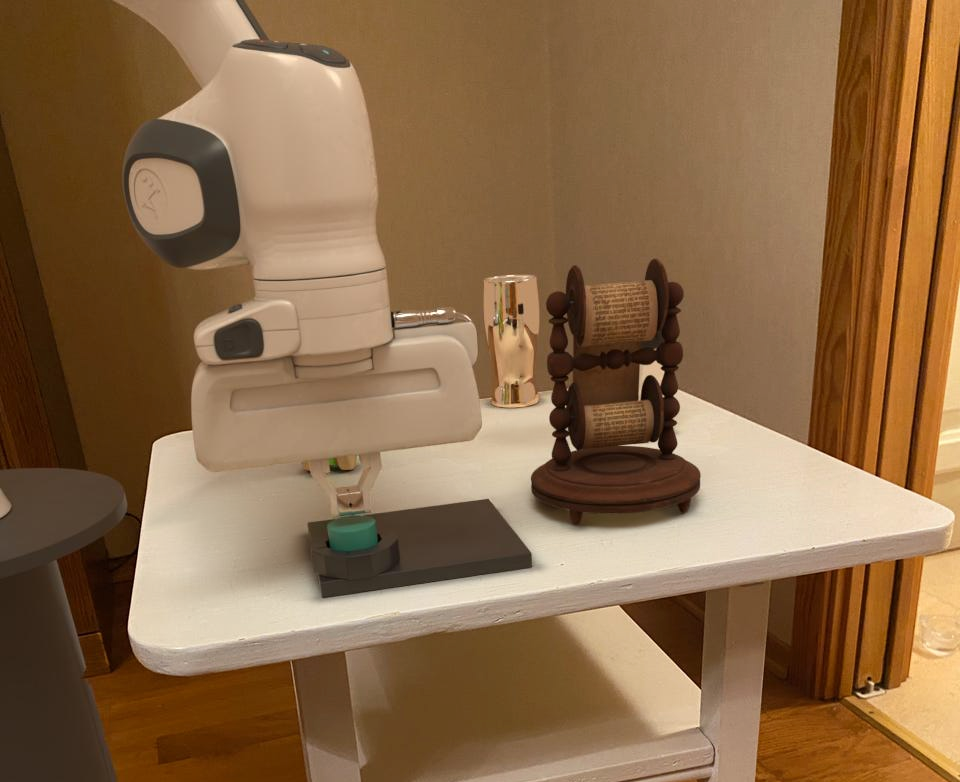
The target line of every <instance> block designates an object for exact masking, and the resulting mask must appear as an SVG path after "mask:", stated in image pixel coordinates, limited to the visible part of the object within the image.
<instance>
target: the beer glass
mask: <svg viewBox="0 0 960 782" xmlns="http://www.w3.org/2000/svg"><path fill="white" fill-rule="evenodd" d="M482 319H483V328H484V334H485V335H484V336H485V340H486V345H487V349H488V354H489V358H490V363H491V368H492V379H493V380H492V392H491V401H490V403H491V404H492V406H494V407H498V408H505V409H506V408H507V409H509V408H510V409H512V408H513V409H514V408H515V409H516V408H525V407H530V406H533V405H536V404H537V403H539V401H540V396H539V393H538V392H539V391H538V387H537V382H536V381H537V380H536V359H537V351H538V343H539V338H540V337H539V336H540V325H541V310H540V295H539V289H538V276H537V275H534V274H503V275H496V276H490V277H486V278H483V279H482Z"/></svg>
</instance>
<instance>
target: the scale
mask: <svg viewBox="0 0 960 782" xmlns="http://www.w3.org/2000/svg"><path fill="white" fill-rule="evenodd" d="M362 515H363V516H369V517H372V518H374V519H375V522H376V530H377V539H378V544H377V545H374V546H371V547H368V548H366V549H360V550H353V551H335V550H333V549H330V544H329V536H328V529H327V525H328V523H329V522H331V521H333V520H335V519H336V518H332V519H331V518H330V519H324V520H323V519H322V520H316V521H308V522H306V525H307V531H308V538H309V543H308V544H309V549H310V550H309V551H310V556H311V563H312V569H313V572H314V573H315V574H316V576H317V580H318V585H319V591H320V596H321V598H329V597H337V596H342V595H348V594H357V593H364V592H369V591H377V590H384V589H390V588H397V587H398V588H399V587H404V586H411V585H418V584H424V583H433V582H439V581H445V580H446V581H447V580H452V579H459V578H465V577H466V578H467V577H473V576H480V575H486V574H493V573H500V572H507V571H514V570H520V569H528V568H532V567H533V553H532V551H531V550H530V549H529V548H528V546H527V545H526V544H525V543H524V541H523V540H522V539H521V538H520V536H519V535H518V534H517V532H515V530H514V529H513V528H512V526H511V525H510V523H508V521H507V520H506V519H505V518H504V516H503V515H502V513H501V512H500V511H499V510H498V508H497V507H496V506H495V505H494V504H493V502H492V501H491V500H490V498H482V499H476V500H468V501H467V500H466V501H460V502H453V503H446V504H437V505H429V506H423V507H414V508H408V509H399V510H391V511H385V512H377V513H376V512H375V513H367V514H362Z"/></svg>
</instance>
